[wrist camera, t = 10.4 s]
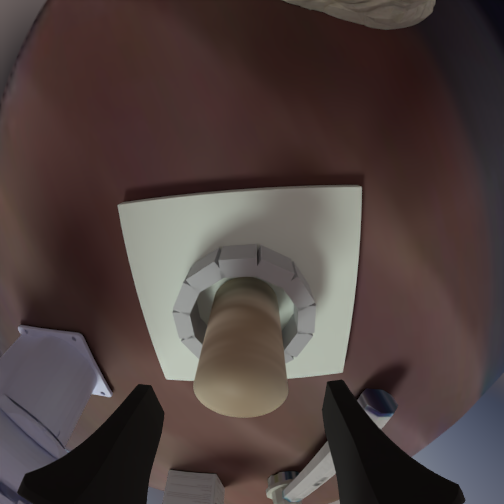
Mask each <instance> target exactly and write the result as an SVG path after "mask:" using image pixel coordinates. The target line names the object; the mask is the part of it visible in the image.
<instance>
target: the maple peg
mask: <svg viewBox="0 0 504 504" xmlns="http://www.w3.org/2000/svg"><path fill="white" fill-rule="evenodd" d="M193 388H194V393H195V395H196V397H197V398H198V400H199V401H200V402H201V403H202V404H203V405H205V406H206V407H207V408H209V409H211V410H213V411H215V412H217V413H220V414H223V415H226V416H231V417H241V418H246V417H256V416H261V415H264V414H267V413H269V412H272V411H273V410H275V409H277V408H278V407H279V406H280V405H282V404H283V402H284V401H285V399H286V398H287V395H288V382H287V373H286V365H285V356H284V348H283V339H282V331H281V323H280V315H279V307H278V300H277V296H276V294H275V292H274V290H273V289H272V288H271V287H270V286H269V285H268V284H267V283H265V282H264V281H262V280H260V279H257V278H253V277H237V278H233V279H231V280H229V281H227V282H225V283H224V284H222V285H221V286H220V287H219V289H218V290H217V292H216V294H215V296H214V300H213V304H212V308H211V312H210V316H209V321H208V325H207V329H206V333H205V337H204V341H203V345H202V350H201V354H200V358H199V362H198V367H197V371H196V375H195V380H194V384H193Z"/></svg>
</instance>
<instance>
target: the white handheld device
mask: <svg viewBox="0 0 504 504" xmlns="http://www.w3.org/2000/svg"><path fill="white" fill-rule="evenodd" d="M357 401H358V403H359V404H360V405H361V407H362V408H363V409H364V410H365V412H366V413H367V414H368V415H369V417H370V418H371V419H372V420H373V421H374V423H375V424H376V425H377V426H378V427H379V428H380V429H381V430H382V428H383V426H384V425H385V424H386V423H387V422H388V420H389V419H390V418H391V416H392V415H393V414H394V412H395V410H396V408H397V406H398V404H397V403H396V401H395V400H394V398H393V396H392V395H390V394H389V393H387V392H385V391H384V390H379V389H365V390H364V391H363V393H362V394H361V395H360V397H359V398H358V400H357ZM334 474H336V471H335V467H334V464H333V460H332V456H331V452H330V448H329V445H328V441H327V442H326V443H325V444H324V446H323V447H322V448H321V449H320V451H319V452H318V453H317V454H316V455H315V457H314V458H313V459H312V460H311V461H310V462H309V463H308V465H307V466H306V467H305V468H304V469H303V470H302V471H301V472H300V473H299V472H296V471H286V472H279V474H276V475H271V476H270V477H269V478H268V488H267V489H266V494H267V497H268V498H270V499H273V503H274V504H302V499H303V498H305V497H306V496H308V495H309V494H310V493H312V492H313V491H314V490H316V489H317V488H318V487H320V486H321V485H322V484H323V483H325V482H326V481H327V480H328V479H330V478H331V477H332V476H333V475H334Z"/></svg>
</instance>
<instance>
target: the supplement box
mask: <svg viewBox="0 0 504 504" xmlns="http://www.w3.org/2000/svg"><path fill="white" fill-rule="evenodd" d="M224 491H225V489H224V487H223V485H222V483H221V481H220V480H219V478H218V476H217V474H207V473H194V472H184V471H175V470H169V472H168V477H167V482H166V487H165V492H164V497H163V503H162V504H224Z"/></svg>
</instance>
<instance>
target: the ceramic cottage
mask: <svg viewBox="0 0 504 504" xmlns="http://www.w3.org/2000/svg"><path fill="white" fill-rule="evenodd" d="M283 1H285V2H287V3H291V4H294V5H300V6H301V7H304V8H307V9H309V10H312V9H313V10H317V11H320V12H325V13H326V14H328V15H331V16H334V17H336V18H339V19H342V20H346V21H350V22H354V23H358V24H363V25H365V26H367V27H371V28H377V29H384V30H390V29H398V28H406V27H409V26H413V25H415V24H418V23H420V22H421V21H423V20H424V19H425V18H427V17H428V16H429V15H430V14H431V13H432V12H433V7H434V5H435V1H436V0H283Z"/></svg>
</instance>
